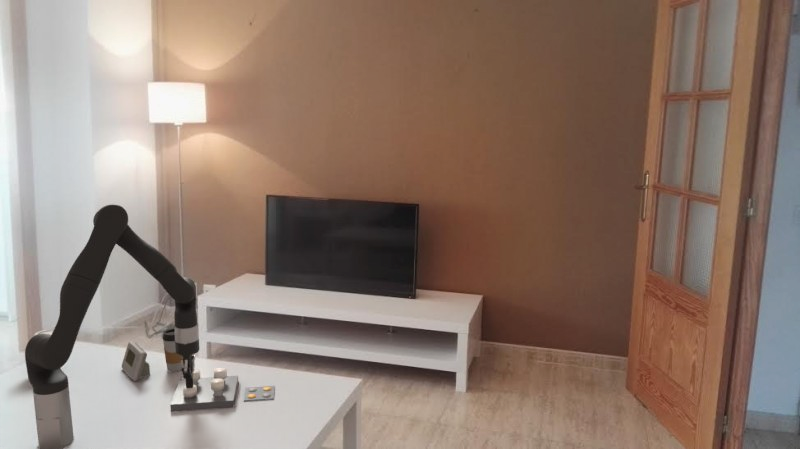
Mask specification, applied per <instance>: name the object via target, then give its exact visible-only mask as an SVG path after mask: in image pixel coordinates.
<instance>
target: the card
mask: <svg viewBox="0 0 800 449" xmlns="http://www.w3.org/2000/svg"><path fill="white" fill-rule="evenodd" d="M274 399H275V385H269V386H267V385H266V386H249V387H245V390H244V396H243V402H255V401H268V400H269V401H270V400H271V401H272V400H273V401H274Z"/></svg>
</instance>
